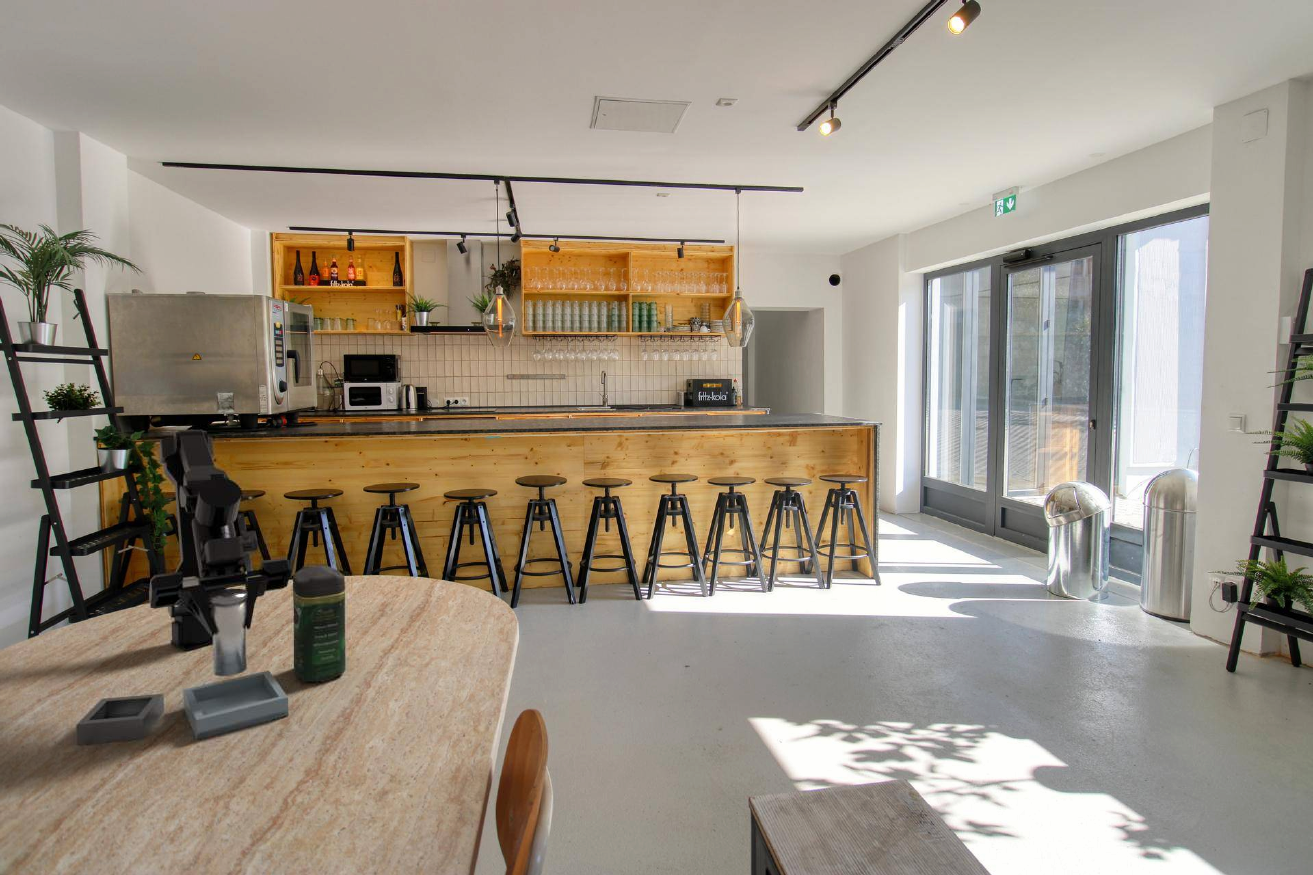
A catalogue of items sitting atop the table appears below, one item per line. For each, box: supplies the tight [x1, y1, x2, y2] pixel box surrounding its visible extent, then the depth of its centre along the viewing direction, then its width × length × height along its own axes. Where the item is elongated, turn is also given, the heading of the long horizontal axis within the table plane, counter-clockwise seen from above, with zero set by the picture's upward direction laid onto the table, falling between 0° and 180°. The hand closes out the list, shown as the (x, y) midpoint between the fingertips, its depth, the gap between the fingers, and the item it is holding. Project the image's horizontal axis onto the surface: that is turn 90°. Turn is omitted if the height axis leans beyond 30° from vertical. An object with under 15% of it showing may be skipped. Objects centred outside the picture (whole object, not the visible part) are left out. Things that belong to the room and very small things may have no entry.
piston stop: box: [209, 588, 248, 677], centre depth 111 cm, size 5×5×12 cm
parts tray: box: [182, 670, 289, 741], centre depth 113 cm, size 12×12×3 cm
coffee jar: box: [292, 564, 347, 682], centre depth 127 cm, size 10×8×19 cm
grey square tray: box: [76, 693, 165, 746], centre depth 107 cm, size 8×8×3 cm
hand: (231, 631), depth 110 cm, fingers closed on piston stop, 4 cm apart
